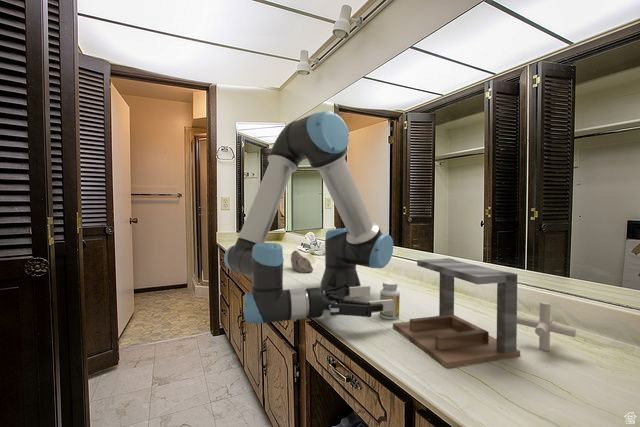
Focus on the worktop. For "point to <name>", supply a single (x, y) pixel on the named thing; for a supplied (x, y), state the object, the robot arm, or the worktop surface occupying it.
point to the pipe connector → (545, 326)
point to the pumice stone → (300, 263)
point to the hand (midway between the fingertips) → (380, 297)
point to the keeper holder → (457, 334)
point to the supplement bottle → (390, 293)
